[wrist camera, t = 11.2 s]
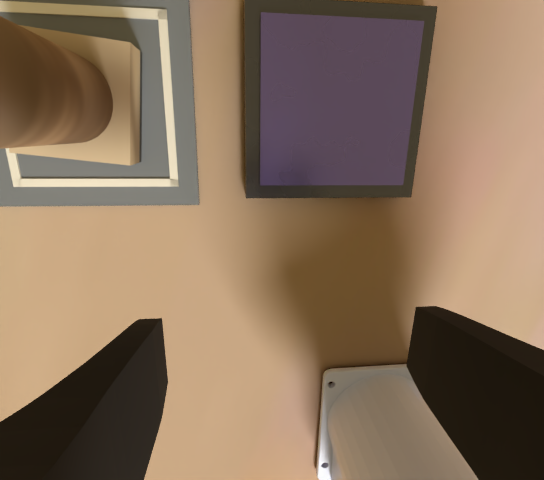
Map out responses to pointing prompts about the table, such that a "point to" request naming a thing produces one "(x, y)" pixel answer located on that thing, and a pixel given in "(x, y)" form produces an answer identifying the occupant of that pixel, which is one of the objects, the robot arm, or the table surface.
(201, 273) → the table surface
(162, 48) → the desk mat
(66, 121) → the stamp
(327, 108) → the ink pad
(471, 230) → the table surface
